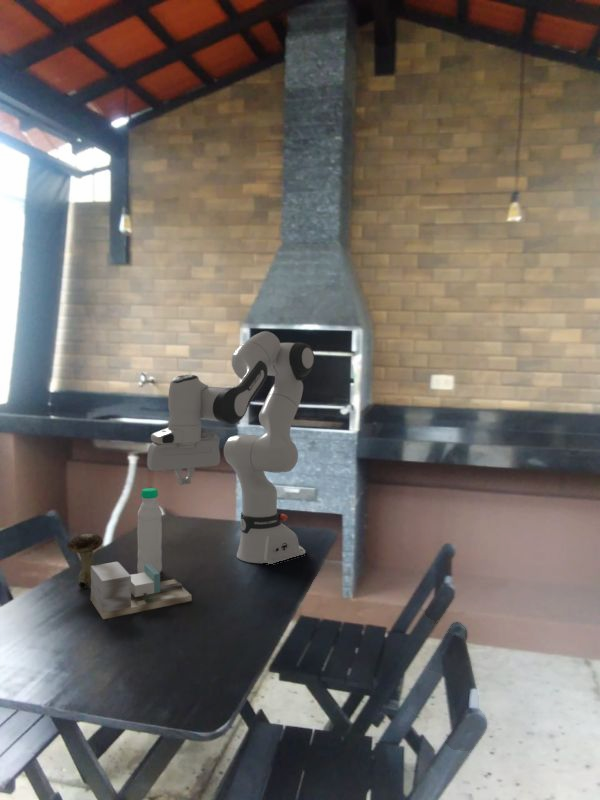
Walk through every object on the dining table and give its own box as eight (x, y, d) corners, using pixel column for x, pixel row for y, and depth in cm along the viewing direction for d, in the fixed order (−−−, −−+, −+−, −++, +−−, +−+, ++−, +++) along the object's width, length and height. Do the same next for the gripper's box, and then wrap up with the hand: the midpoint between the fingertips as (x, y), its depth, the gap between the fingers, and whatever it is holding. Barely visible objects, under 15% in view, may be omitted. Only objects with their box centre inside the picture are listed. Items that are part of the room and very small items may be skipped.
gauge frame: (174, 584, 176) (174, 551, 175) (191, 600, 165) (191, 565, 164) (90, 600, 164) (90, 565, 163) (103, 619, 153) (102, 581, 152)
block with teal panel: (150, 581, 170) (150, 564, 169) (163, 595, 161) (163, 576, 160) (126, 586, 166) (126, 568, 166) (138, 600, 157) (138, 581, 157)
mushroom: (108, 588, 172) (108, 535, 171) (78, 596, 166) (77, 541, 165) (93, 578, 179) (92, 527, 178) (63, 586, 173) (62, 533, 172)
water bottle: (155, 577, 181) (155, 492, 179) (133, 575, 182) (132, 491, 180) (165, 569, 188) (165, 487, 186) (144, 566, 189) (143, 485, 187)
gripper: (214, 430, 179) (214, 478, 181) (145, 435, 169) (145, 485, 170) (224, 433, 174) (223, 482, 175) (152, 438, 163) (152, 490, 165)
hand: (184, 484), depth 172 cm, fingers closed
